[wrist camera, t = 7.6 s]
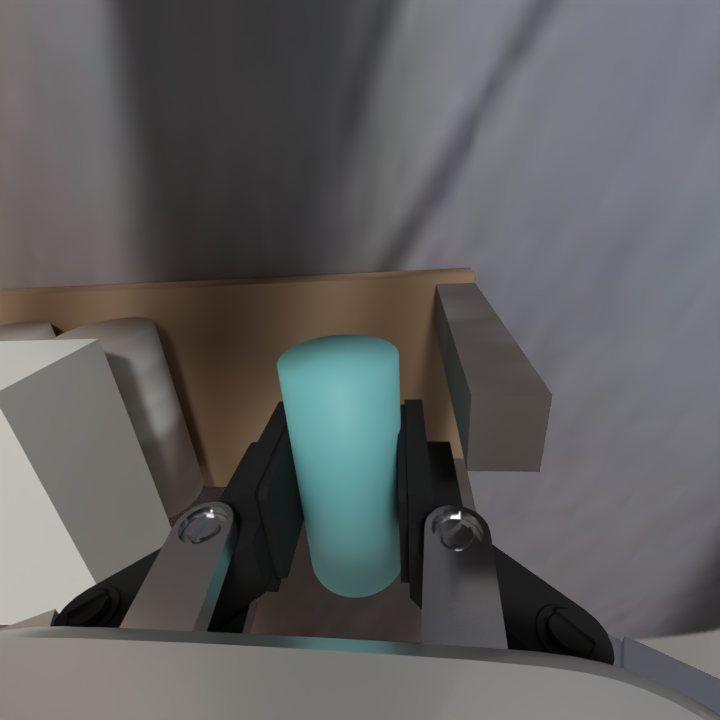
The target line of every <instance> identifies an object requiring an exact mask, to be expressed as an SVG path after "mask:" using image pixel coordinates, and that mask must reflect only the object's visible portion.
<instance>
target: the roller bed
mask: <svg viewBox="0 0 720 720" xmlns="http://www.w3.org/2000/svg"><path fill="white" fill-rule="evenodd" d="M341 334H358V335H368V336H373V337H377V338H381V339H384V340H386V341H388V342H390V343H391V344H393V345H394V346H395V347H396V348H397V350H398V353H399V378H400V404H404V400H411V399H422V404H423V413H424V421H425V430H426V439H427V441H449V442H450V445H451V450H452V455H453V459H454V464H455V469H456V474H457V479H458V484H459V489H460V494H461V499H462V504H463V507H466V508H469V509H471V510H473V511H475V512H476V509H475V505H474V500H473V496H472V491H471V487H470V482H469V478H468V473H467V471H522V472H540V466H541V460H542V454H543V448H544V442H545V436H546V430H547V424H548V418H549V412H550V406H551V400H552V394H551V392H550V391H549V389H548V388H547V386H546V385H545V383H544V382H543V381H542V379H541V378H540V376H539V375H538V373H537V372H536V370H535V369H534V368H533V366H532V365H531V363H530V362H529V360H528V359H527V357H526V356H525V355H524V353H523V352H522V350H521V349H520V347H519V346H518V344H517V343H516V342H515V340H514V339H513V337H512V336H511V334H510V333H509V331H508V330H507V329H506V327H505V326H504V324H503V323H502V321H501V320H500V318H499V317H498V316H497V314H496V313H495V311H494V310H493V308H492V307H491V305H490V304H489V303H488V301H487V300H486V298H485V297H484V295H483V294H482V292H481V291H480V289H479V288H478V287H477V285H476V284H475V274H474V272H473V271H472V270H471V268H459V269H438V270H416V271H394V272H373V273H351V274H329V275H308V276H286V277H265V278H243V279H221V280H200V281H178V282H156V283H135V284H113V285H91V286H70V287H48V288H27V289H5V290H0V341H31V340H67V339H99V340H100V343H101V345H102V348H103V350H104V353H105V356H106V358H107V361H108V364H109V366H110V369H111V371H112V374H113V377H114V379H115V382H116V384H117V387H118V390H119V392H120V395H121V398H122V400H123V403H124V405H125V408H126V411H127V413H128V416H129V418H130V421H131V424H132V426H133V429H134V431H135V434H136V437H137V439H138V442H139V445H140V447H141V450H142V452H143V455H144V458H145V460H146V463H147V465H148V468H149V471H150V473H151V476H152V479H153V481H154V484H155V486H156V489H157V492H158V494H159V497H160V499H161V502H162V505H163V507H164V510H165V512H166V515H167V518H168V519H169V518H171V517H173V516H175V515H177V514H179V513H180V512H182V511H183V510H185V509H186V508H188V507H189V506H190V505H191V504H192V503H193V502H194V501H195V500H196V499H197V498H198V496H199V495H200V493H201V491H202V489H203V486H206V487H227V485H228V483H229V481H230V479H231V478H232V476H233V474H234V472H235V470H236V468H237V467H238V465H239V463H240V461H241V459H242V458H243V456H244V454H245V452H246V450H247V448H248V447H249V445H250V444H251V443H252V442H258V440H259V438H260V436H261V435H262V433H263V431H264V429H265V427H266V425H267V423H268V421H269V419H270V417H271V416H272V414H273V412H274V410H275V408H276V406H277V404H278V403H279V402H280V401H283V397H282V391H281V386H280V380H279V374H278V369H277V362H278V359H279V358H280V356H281V355H282V354H283V353H284V352H285V351H287V350H288V349H290V348H292V347H293V346H295V345H297V344H300V343H302V342H305V341H308V340H311V339H315V338H319V337H324V336H331V335H341Z"/></svg>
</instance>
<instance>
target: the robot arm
mask: <svg viewBox="0 0 720 720" xmlns="http://www.w3.org/2000/svg"><path fill="white" fill-rule="evenodd" d="M400 414H401V428H400V432H399V434H398V507H399V536H400V565H401V582H402V583H410V598H411V599H412V600H413V601H414V602H415V603H416V604H417V605H418V606H419V607H420V608H421V609H422V620H421V643H407V642H389V641H372V640H355V639H337V638H318V637H299V636H280V635H261V634H250V633H251V629H252V625H253V620H254V616H255V612H256V608H257V598H258V597H260V596H261V595H262V594H264V593H265V591H270V592H278V589H279V585H280V582H281V578H287V577H288V575H289V571H290V568H291V564H292V560H293V557H294V553H295V549H296V545H297V542H298V538H299V534H300V531H301V527H302V523H303V520H304V516H303V510H302V504H301V499H300V493H299V487H298V482H297V476H296V470H295V465H294V459H293V453H292V448H291V442H290V437H289V431H288V425H287V420H286V414H285V408H284V403H283V401H280V402H279V403H278V404H277V406H276V408H275V410H274V412H273V414H272V416H271V417H270V419H269V421H268V423H267V425H266V427H265V429H264V431H263V433H262V435H261V436H260V438H259V440H258V442H252V443H251V444H250V445H249V447H248V448H247V450H246V452H245V454H244V456H243V458H242V459H241V461H240V463H239V465H238V467H237V468H236V470H235V472H234V474H233V476H232V478H231V479H230V481H229V483H228V485H227V487H226V488H225V490H224V492H223V494H222V496H221V497H220V499H219V501H218V502H207V503H203V504H200V505H198V506H195V507H193V508H192V509H190V510H188V511H187V512H185V513H184V514H183V515H182V516H181V517H180V518H179V519H178V520H177V522H176V523H175V524H174V526H173V528H172V529H171V531H170V533H169V535H168V537H167V539H166V541H165V543H164V544H163V546H162V547H161V548H160V549H158V550H156V551H154V552H152V553H151V554H149V555H147V556H145V557H144V558H142V559H140V560H138V561H137V562H135V563H133V564H131V565H129V566H128V567H126V568H124V569H122V570H121V571H119V572H117V573H115V574H113V575H112V576H110V577H108V578H106V579H105V580H103V581H101V582H99V583H98V584H96V585H94V586H92V587H90V588H89V589H87V590H85V591H84V592H82V593H81V594H79V595H78V596H76V597H75V598H74V599H73V600H72V601H71V602H69V603H68V604H67V605H66V606H65V607H64V608H63V610H62V611H61V612H60V613H58V612H57V611H56V609H53V610H51V611H48V612H45V613H42V614H40V615H37V616H34V617H32V618H29V619H26V620H23V621H21V622H18V623H15V624H13V625H10V626H7V627H4V628H2V629H0V720H720V679H718V678H716V677H713V676H711V675H709V674H707V673H705V672H703V671H700V670H698V669H696V668H694V667H692V666H689V665H687V664H685V663H683V662H681V661H678V660H676V659H674V658H672V657H670V656H668V655H665V654H663V653H661V652H659V651H657V650H654V649H652V648H650V647H648V646H646V645H644V644H641V643H639V642H637V641H635V640H633V639H631V638H628V637H626V636H625V637H624V639H623V641H621V640H619V639H617V638H615V637H613V636H611V635H609V634H607V632H606V631H605V630H604V629H603V627H602V626H601V625H600V623H599V622H598V621H597V620H596V619H595V618H594V617H593V616H592V615H590V614H589V613H588V612H587V611H586V610H584V609H583V608H581V607H580V606H579V605H577V604H576V603H574V602H573V601H572V600H570V599H569V598H567V597H566V596H564V595H563V594H562V593H560V592H559V591H557V590H556V589H555V588H553V587H552V586H550V585H549V584H547V583H546V582H545V581H543V580H542V579H540V578H539V577H538V576H536V575H535V574H533V573H532V572H530V571H529V570H528V569H526V568H525V567H523V566H522V565H521V564H519V563H518V562H516V561H515V560H513V559H512V558H511V557H509V556H508V555H506V554H505V553H504V552H502V551H501V550H499V549H498V548H496V547H495V546H494V545H492V540H491V533H490V530H489V527H488V524H487V523H486V522H485V520H484V519H483V518H482V517H481V516H480V515H479V514H477V513H476V512H475V511H473V510H471V509H469V508H466V507H463V504H462V499H461V494H460V489H459V484H458V479H457V474H456V469H455V464H454V459H453V455H452V450H451V445H450V442H449V441H427V439H426V430H425V421H424V413H423V404H422V399H411V400H404V404H400Z"/></svg>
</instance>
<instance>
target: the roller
mask: <svg viewBox="0 0 720 720" xmlns="http://www.w3.org/2000/svg"><path fill="white" fill-rule="evenodd" d="M277 369H278V374H279V380H280V386H281V391H282V397H283V403H284V408H285V414H286V420H287V425H288V431H289V437H290V442H291V448H292V453H293V459H294V465H295V470H296V476H297V482H298V487H299V493H300V499H301V504H302V510H303V516H304V521H305V527H306V533H307V538H308V544H309V550H310V555H311V561H312V566H313V570H314V573H315V575H316V577H317V579H318V580H319V581H320V583H321V584H322V585H323V586H324V587H325V588H327V589H328V590H330V591H331V592H333V593H335V594H338V595H341V596H345V597H352V598H359V597H366V596H370V595H373V594H376V593H378V592H380V591H382V590H383V589H385V588H387V587H388V586H389V585H390V584H391V583H392V582H393V581H394V580H395V579H396V577H397V576H398V574H399V573H400V571H401V565H400V536H399V507H398V434H399V432H400V428H401V414H400V378H399V353H398V350H397V348H396V347H395V346H394V345H393V344H391V343H390V342H388V341H386V340H384V339H381V338H377V337H373V336H368V335H358V334H341V335H331V336H324V337H319V338H315V339H311V340H308V341H305V342H302V343H300V344H297V345H295V346H293V347H292V348H290V349H288V350H287V351H285V352H284V353H283V354H282V355H281V356H280V358H279V359H278V362H277Z"/></svg>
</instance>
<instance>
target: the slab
mask: <svg viewBox="0 0 720 720" xmlns="http://www.w3.org/2000/svg"><path fill="white" fill-rule="evenodd" d="M171 529H172V528H171V526H170V523H169V520H168V518H167V515H166V512H165V510H164V507H163V505H162V502H161V499H160V497H159V494H158V492H157V489H156V486H155V484H154V481H153V479H152V476H151V473H150V471H149V468H148V465H147V463H146V460H145V458H144V455H143V452H142V450H141V447H140V445H139V442H138V439H137V437H136V434H135V431H134V429H133V426H132V424H131V421H130V418H129V416H128V413H127V411H126V408H125V405H124V403H123V400H122V398H121V395H120V392H119V390H118V387H117V384H116V382H115V379H114V377H113V374H112V371H111V369H110V366H109V364H108V361H107V358H106V356H105V353H104V350H103V348H102V345H101V343H100V340H99V339H67V340H31V341H0V624H1V625H13V624H15V623H18V622H21V621H23V620H26V619H29V618H32V617H34V616H37V615H40V614H42V613H45V612H48V611H51V610H53V609H56V611H57V612H58V613H60V612H61V611H62V610H63V608H64V607H65V606H66V605H67V604H68V603H69V602H71V601H72V600H73V599H74V598H75V597H76V596H78V595H79V594H81V593H82V592H84V591H85V590H87V589H89V588H90V587H92V586H94V585H96V584H98V583H99V582H101V581H103V580H105V579H106V578H108V577H110V576H112V575H113V574H115V573H117V572H119V571H121V570H122V569H124V568H126V567H128V566H129V565H131V564H133V563H135V562H137V561H138V560H140V559H142V558H144V557H145V556H147V555H149V554H151V553H152V552H154V551H156V550H158V549H160V548H161V547H162V546H163V544H164V543H165V541H166V539H167V537H168V535H169V533H170V531H171Z"/></svg>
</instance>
